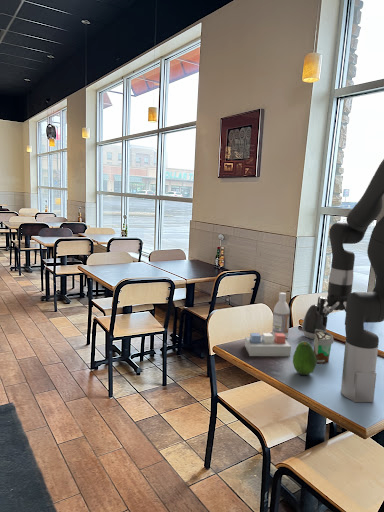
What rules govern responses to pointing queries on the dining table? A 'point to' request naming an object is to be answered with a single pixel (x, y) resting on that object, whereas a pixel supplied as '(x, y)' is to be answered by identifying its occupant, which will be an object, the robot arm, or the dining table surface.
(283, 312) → the bath foam
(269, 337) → the white key
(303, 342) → the avocado
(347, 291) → the robot arm
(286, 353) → the button panel
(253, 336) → the blue key
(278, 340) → the red key
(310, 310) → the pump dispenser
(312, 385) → the dining table surface
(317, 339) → the food container
